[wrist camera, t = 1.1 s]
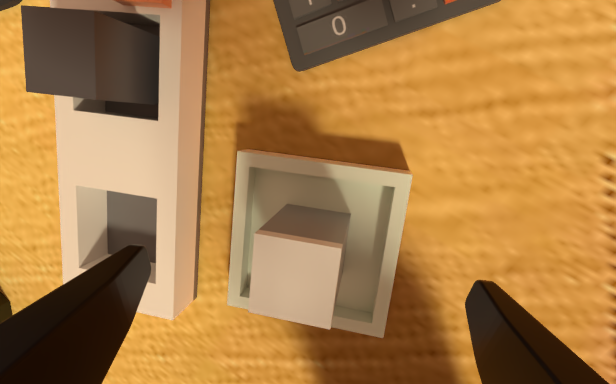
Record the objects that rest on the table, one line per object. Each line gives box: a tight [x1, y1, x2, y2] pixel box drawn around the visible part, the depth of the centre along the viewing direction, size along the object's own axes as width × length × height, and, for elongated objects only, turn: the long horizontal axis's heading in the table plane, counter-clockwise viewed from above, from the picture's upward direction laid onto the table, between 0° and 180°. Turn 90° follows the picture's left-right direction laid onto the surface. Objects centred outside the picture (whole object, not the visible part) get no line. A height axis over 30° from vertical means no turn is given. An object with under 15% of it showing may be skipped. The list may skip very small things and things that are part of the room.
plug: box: [248, 204, 351, 330], centre depth 19 cm, size 4×4×6 cm
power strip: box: [21, 0, 210, 320], centre depth 20 cm, size 20×8×6 cm, turn 174°
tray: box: [227, 149, 413, 338], centre depth 21 cm, size 10×10×2 cm
